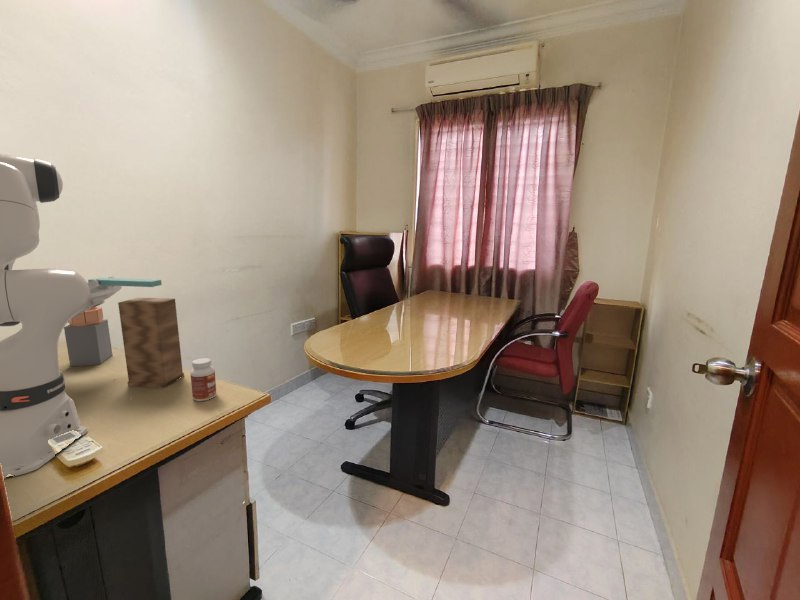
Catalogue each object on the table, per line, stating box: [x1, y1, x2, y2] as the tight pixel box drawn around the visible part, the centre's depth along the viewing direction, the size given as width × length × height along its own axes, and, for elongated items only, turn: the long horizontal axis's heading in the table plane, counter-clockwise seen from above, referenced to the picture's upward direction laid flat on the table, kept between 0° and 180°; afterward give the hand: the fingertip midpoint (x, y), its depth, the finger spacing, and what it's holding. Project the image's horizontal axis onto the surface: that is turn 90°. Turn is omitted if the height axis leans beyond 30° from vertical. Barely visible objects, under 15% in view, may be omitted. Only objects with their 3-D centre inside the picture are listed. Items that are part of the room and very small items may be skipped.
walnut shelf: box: [117, 297, 185, 389], centre depth 116 cm, size 12×9×26 cm
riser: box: [63, 319, 113, 367], centre depth 133 cm, size 9×9×14 cm
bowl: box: [67, 306, 104, 327], centre depth 131 cm, size 9×9×5 cm
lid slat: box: [87, 277, 163, 288], centre depth 113 cm, size 20×4×2 cm, turn 86°
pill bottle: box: [189, 357, 217, 402], centre depth 107 cm, size 6×6×11 cm
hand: (105, 280), depth 113 cm, fingers closed on lid slat, 4 cm apart
